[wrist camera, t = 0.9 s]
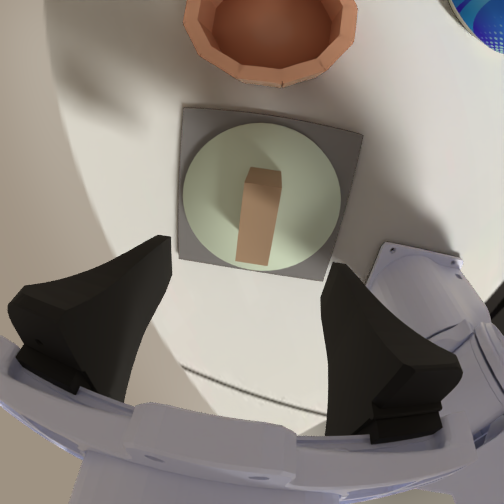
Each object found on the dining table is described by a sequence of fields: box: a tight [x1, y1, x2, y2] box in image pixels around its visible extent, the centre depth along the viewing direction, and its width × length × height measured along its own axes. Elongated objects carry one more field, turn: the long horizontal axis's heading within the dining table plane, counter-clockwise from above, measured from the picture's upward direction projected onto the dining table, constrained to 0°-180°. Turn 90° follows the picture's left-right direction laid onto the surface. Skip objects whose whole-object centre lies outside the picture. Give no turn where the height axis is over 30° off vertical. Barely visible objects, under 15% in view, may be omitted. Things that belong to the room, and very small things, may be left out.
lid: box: [183, 123, 341, 271], centre depth 17 cm, size 11×11×4 cm
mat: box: [178, 108, 363, 282], centre depth 19 cm, size 12×12×1 cm
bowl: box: [183, 0, 358, 88], centre depth 11 cm, size 9×9×4 cm
